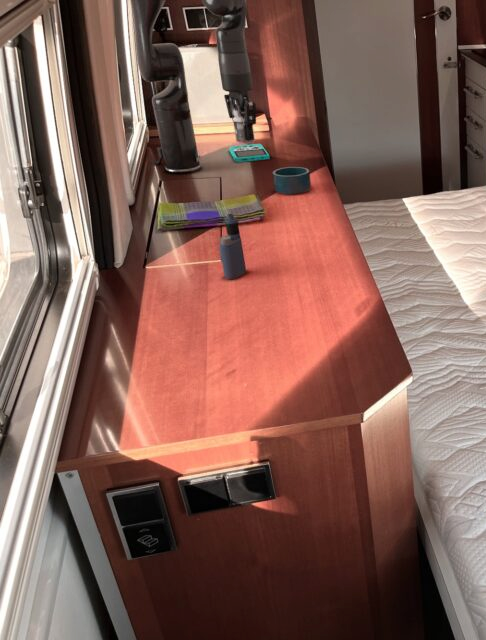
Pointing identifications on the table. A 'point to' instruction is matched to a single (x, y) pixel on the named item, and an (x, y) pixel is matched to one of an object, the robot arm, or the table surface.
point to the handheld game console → (249, 153)
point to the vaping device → (232, 250)
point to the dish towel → (209, 212)
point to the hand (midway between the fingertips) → (245, 137)
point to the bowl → (292, 180)
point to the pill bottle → (240, 130)
